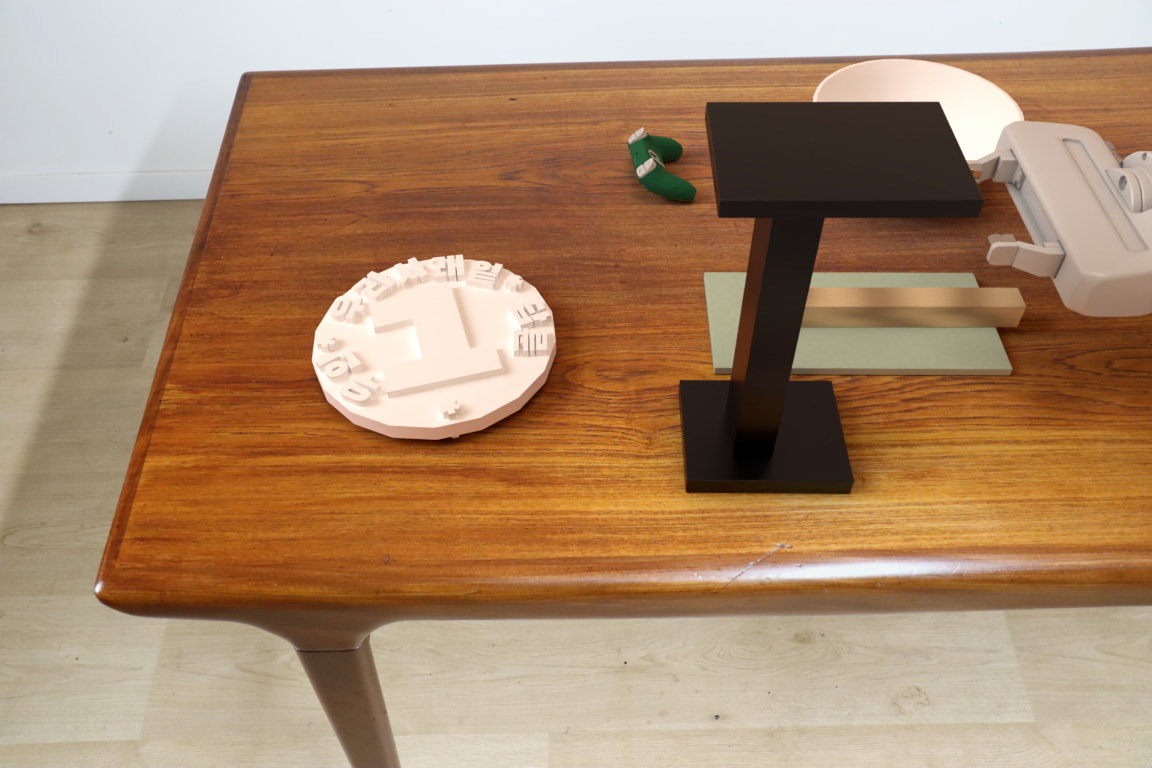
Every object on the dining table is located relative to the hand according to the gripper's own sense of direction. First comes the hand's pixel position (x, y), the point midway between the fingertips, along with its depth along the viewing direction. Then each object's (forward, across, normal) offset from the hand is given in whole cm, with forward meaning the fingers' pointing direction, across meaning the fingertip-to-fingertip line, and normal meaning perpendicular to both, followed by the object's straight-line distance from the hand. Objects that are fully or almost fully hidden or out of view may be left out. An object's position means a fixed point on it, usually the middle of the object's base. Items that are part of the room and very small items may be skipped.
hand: (970, 210), depth 73 cm
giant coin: (+42, +4, +12) cm, 44 cm away
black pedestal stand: (+15, +13, +12) cm, 23 cm away
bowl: (-2, -21, +12) cm, 24 cm away
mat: (+7, 0, +12) cm, 14 cm away
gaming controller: (+22, -21, +12) cm, 33 cm away
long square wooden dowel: (+5, 0, +11) cm, 12 cm away
